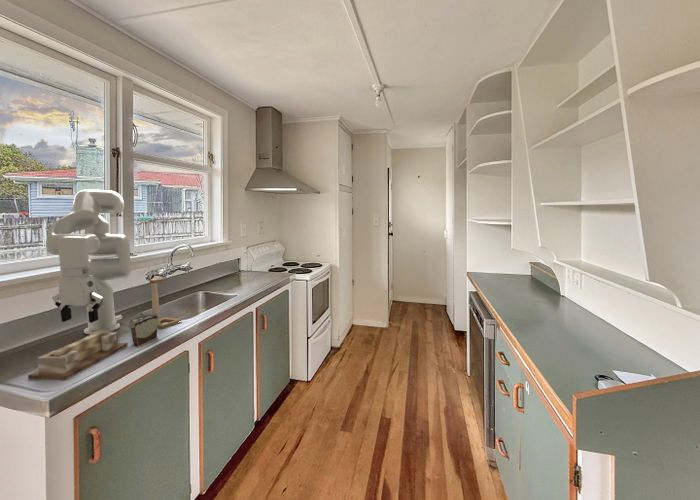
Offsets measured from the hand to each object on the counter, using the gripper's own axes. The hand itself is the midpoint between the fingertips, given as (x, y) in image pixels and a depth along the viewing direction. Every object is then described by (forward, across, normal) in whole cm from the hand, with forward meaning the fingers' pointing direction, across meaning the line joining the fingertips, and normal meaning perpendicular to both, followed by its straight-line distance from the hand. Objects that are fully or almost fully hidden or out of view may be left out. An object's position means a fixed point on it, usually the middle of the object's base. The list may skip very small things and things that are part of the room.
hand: (80, 320), depth 112 cm
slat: (+13, 0, +1) cm, 13 cm away
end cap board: (+14, 0, +1) cm, 14 cm away
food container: (+15, -9, -17) cm, 24 cm away
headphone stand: (+15, -6, -37) cm, 41 cm away
